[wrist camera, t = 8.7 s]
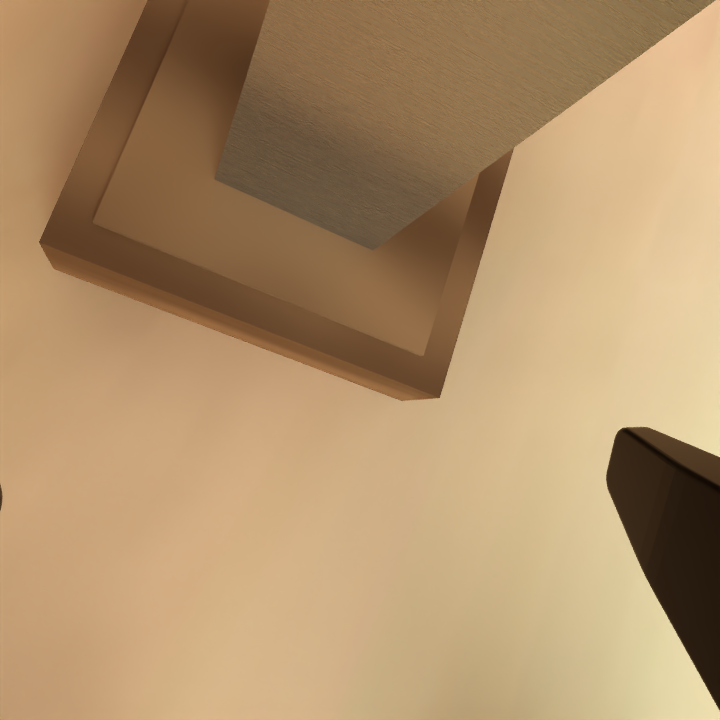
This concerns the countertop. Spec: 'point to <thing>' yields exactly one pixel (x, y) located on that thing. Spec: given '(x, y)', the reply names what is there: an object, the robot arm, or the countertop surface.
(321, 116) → the housing
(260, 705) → the countertop surface
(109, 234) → the stand
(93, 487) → the countertop surface
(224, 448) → the countertop surface
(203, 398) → the countertop surface
